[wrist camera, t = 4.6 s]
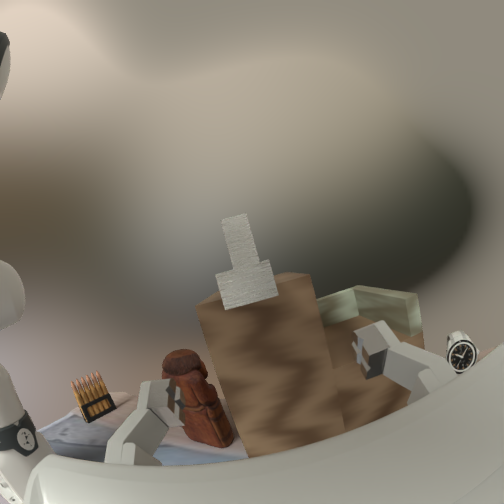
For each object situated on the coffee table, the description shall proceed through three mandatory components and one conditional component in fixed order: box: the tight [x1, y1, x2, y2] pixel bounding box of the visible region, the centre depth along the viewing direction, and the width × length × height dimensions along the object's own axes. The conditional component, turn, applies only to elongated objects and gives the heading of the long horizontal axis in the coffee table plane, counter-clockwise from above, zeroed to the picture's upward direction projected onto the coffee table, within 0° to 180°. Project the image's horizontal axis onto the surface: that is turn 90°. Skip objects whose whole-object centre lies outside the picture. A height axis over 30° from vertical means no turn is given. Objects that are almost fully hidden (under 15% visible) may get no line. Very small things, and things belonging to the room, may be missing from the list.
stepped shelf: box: [195, 272, 425, 458], centre depth 30 cm, size 20×16×26 cm
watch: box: [446, 330, 479, 376], centre depth 28 cm, size 6×8×11 cm
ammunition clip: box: [71, 371, 117, 423], centre depth 55 cm, size 11×2×12 cm, turn 154°
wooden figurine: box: [162, 349, 233, 448], centre depth 41 cm, size 12×6×18 cm, turn 56°
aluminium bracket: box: [215, 213, 279, 310], centre depth 24 cm, size 3×18×8 cm, turn 0°
